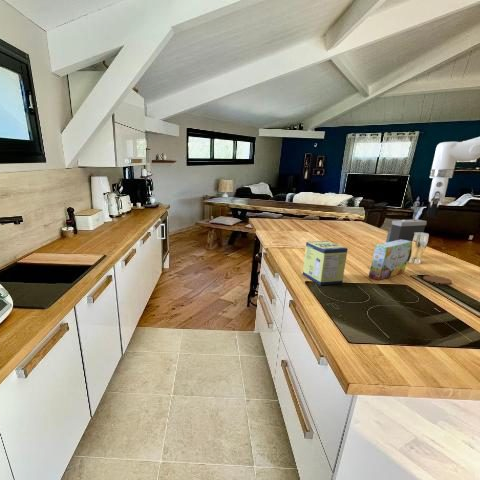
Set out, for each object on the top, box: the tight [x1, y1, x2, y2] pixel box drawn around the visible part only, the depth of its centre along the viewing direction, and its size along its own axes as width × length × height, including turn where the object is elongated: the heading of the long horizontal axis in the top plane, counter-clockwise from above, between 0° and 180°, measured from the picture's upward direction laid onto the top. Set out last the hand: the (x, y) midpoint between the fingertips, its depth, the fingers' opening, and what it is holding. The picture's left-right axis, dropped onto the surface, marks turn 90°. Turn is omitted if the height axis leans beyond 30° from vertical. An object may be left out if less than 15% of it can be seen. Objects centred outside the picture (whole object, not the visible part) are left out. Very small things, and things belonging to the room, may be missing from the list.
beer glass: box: [407, 232, 430, 265], centre depth 158 cm, size 7×7×15 cm
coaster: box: [422, 275, 453, 286], centre depth 135 cm, size 10×10×1 cm
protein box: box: [302, 240, 348, 286], centre depth 136 cm, size 10×16×16 cm
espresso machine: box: [385, 218, 428, 258], centre depth 166 cm, size 9×14×21 cm, turn 100°
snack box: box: [368, 240, 412, 281], centre depth 140 cm, size 21×6×15 cm, turn 122°
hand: (431, 215), depth 137 cm, fingers open, 9 cm apart
